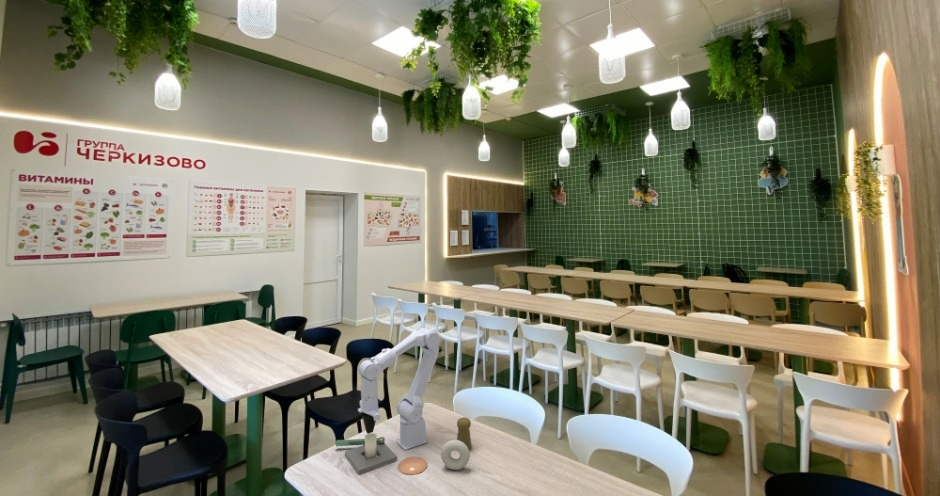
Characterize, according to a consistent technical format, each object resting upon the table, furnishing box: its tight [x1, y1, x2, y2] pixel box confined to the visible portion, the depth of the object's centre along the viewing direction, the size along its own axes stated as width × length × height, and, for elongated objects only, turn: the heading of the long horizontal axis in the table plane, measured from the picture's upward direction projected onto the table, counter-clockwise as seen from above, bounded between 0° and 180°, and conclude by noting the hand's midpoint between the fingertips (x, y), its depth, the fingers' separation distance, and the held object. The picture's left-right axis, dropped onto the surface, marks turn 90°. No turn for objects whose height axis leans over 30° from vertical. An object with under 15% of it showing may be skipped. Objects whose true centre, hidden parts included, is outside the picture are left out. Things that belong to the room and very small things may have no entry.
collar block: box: [344, 443, 398, 476], centre depth 138 cm, size 14×14×2 cm
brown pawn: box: [456, 416, 473, 452], centre depth 145 cm, size 6×6×11 cm
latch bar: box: [335, 436, 386, 447], centre depth 144 cm, size 18×2×2 cm, turn 97°
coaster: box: [397, 456, 428, 476], centre depth 134 cm, size 10×10×1 cm
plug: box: [364, 432, 378, 460], centre depth 138 cm, size 4×4×8 cm
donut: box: [440, 439, 471, 471], centre depth 132 cm, size 10×4×10 cm, turn 82°
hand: (369, 432), depth 138 cm, fingers closed
